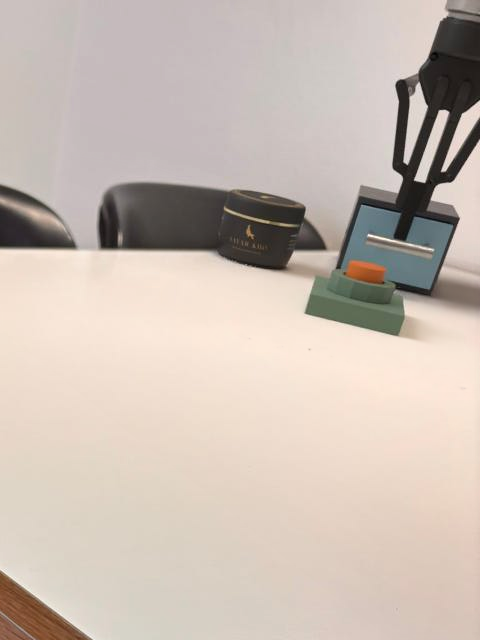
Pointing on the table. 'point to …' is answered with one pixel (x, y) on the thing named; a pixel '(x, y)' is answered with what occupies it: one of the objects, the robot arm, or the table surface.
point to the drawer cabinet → (388, 202)
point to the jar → (259, 228)
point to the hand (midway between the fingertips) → (399, 238)
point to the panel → (357, 302)
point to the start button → (366, 272)
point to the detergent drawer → (398, 245)
